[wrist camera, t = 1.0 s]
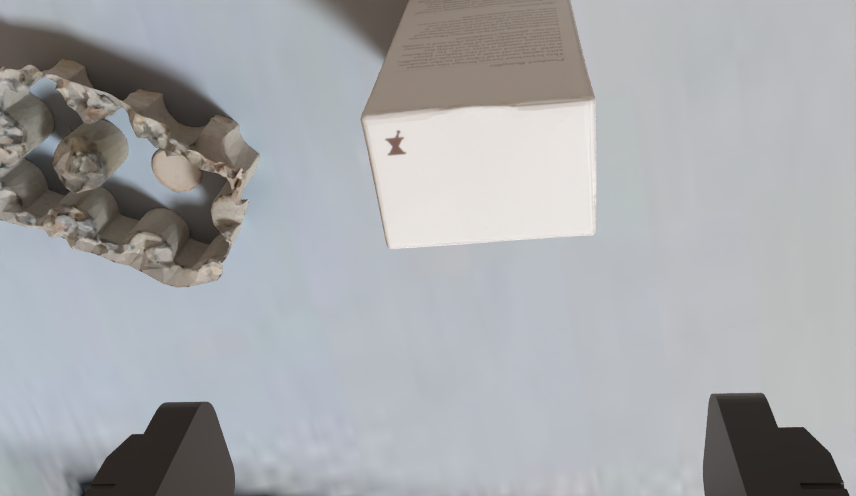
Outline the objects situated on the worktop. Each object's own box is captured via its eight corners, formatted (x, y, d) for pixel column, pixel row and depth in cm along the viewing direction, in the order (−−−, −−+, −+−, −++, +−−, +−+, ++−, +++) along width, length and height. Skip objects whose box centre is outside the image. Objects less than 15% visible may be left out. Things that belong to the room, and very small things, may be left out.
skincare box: (423, 99, 33) (379, 253, 23) (409, -7, 30) (353, 111, 20) (574, 86, 32) (598, 241, 22) (570, -24, 30) (596, 91, 19)
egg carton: (278, 131, 34) (252, 173, 31) (233, 263, 38) (205, 313, 35) (35, 29, 33) (-21, 62, 30) (14, 176, 37) (-39, 220, 33)
